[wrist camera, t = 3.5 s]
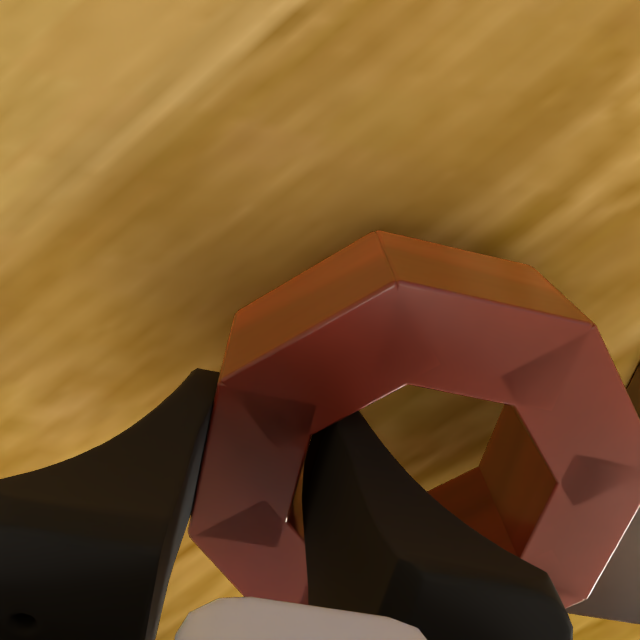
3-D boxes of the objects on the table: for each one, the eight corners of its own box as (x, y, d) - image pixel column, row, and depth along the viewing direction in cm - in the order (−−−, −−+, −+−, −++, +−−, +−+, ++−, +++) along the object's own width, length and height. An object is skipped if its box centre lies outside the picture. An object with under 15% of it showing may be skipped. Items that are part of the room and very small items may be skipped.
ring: (501, 571, 18) (542, 679, 15) (192, 520, 17) (168, 625, 14) (636, 288, 15) (727, 353, 11) (257, 201, 13) (245, 246, 10)
